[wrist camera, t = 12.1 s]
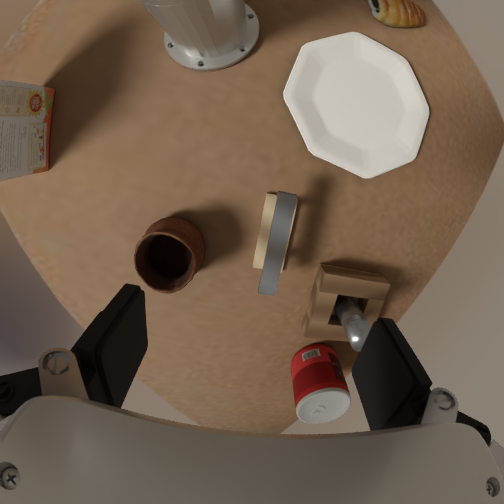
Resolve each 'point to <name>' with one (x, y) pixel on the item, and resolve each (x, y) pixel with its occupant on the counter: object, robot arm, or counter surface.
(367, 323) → the pin
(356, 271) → the block with square hole
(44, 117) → the cracker box
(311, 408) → the canned food
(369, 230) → the counter surface
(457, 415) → the robot arm
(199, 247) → the ceramic pot
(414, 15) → the pastry
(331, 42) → the plate
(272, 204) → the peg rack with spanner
